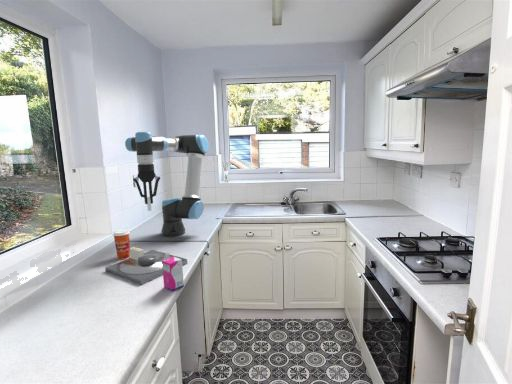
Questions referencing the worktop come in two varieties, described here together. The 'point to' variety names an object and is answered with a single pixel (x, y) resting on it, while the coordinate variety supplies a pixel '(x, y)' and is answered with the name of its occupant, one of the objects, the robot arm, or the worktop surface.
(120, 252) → the paper cup
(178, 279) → the supplement box
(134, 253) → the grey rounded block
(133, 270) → the panel
